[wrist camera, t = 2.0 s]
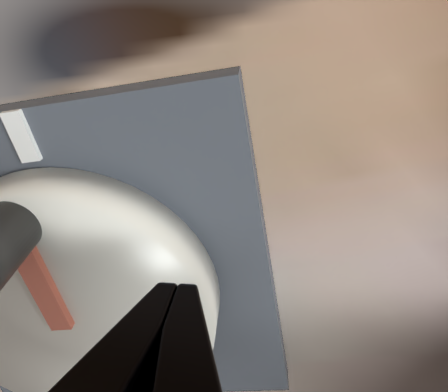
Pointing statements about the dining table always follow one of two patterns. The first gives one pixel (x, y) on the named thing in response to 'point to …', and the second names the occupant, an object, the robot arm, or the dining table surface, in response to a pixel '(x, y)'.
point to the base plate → (175, 189)
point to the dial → (83, 267)
